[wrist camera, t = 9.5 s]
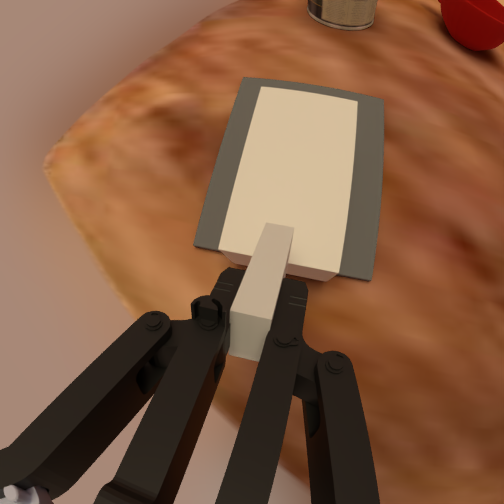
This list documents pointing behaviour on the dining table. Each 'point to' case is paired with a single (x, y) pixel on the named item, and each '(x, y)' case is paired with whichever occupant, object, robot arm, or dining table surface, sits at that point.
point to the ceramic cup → (474, 22)
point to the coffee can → (343, 13)
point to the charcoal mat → (362, 187)
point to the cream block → (295, 180)
